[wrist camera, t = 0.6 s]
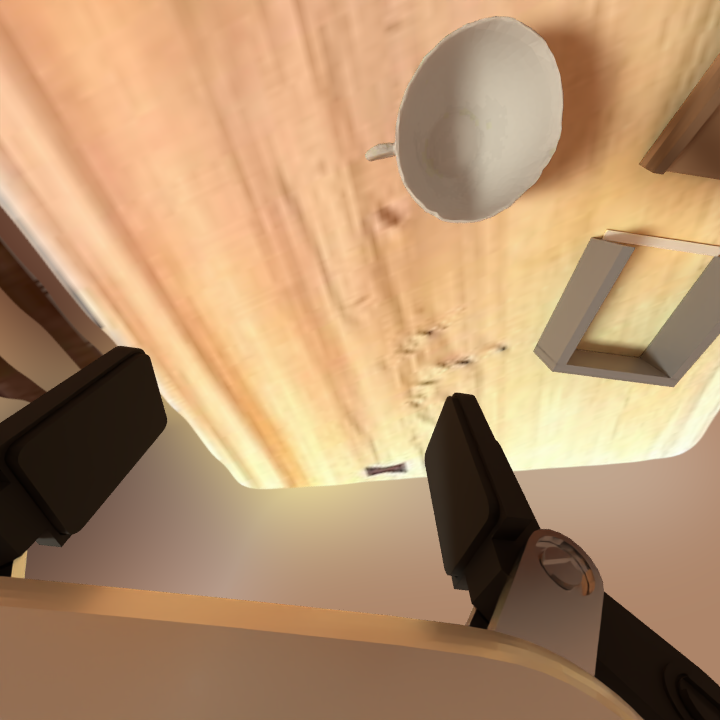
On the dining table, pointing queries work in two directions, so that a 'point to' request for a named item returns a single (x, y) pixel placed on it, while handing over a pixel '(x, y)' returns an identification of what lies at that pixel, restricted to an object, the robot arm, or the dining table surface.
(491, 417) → the dining table surface
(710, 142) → the walnut ramp
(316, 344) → the dining table surface
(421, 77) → the teacup
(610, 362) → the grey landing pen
